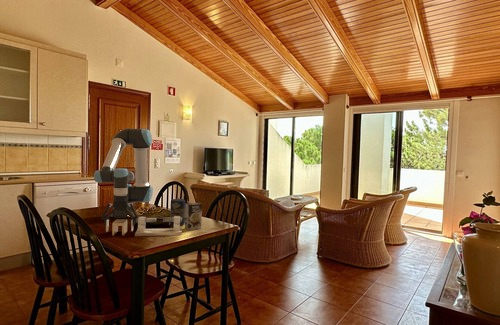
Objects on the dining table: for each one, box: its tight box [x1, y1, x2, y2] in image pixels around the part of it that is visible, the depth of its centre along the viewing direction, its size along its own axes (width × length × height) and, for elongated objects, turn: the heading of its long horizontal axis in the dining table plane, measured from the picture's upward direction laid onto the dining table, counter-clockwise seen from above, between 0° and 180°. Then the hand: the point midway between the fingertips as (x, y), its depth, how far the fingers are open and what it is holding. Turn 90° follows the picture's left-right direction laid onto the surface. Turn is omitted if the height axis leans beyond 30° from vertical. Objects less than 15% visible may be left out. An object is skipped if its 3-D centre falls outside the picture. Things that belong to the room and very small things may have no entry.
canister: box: [169, 197, 186, 226], centre depth 198 cm, size 10×10×18 cm
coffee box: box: [184, 202, 203, 231], centre depth 189 cm, size 9×6×16 cm
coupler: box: [111, 218, 128, 236], centre depth 174 cm, size 6×10×7 cm, turn 13°
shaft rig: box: [134, 216, 183, 237], centre depth 176 cm, size 10×26×10 cm, turn 103°
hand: (119, 231), depth 174 cm, fingers open, 13 cm apart
